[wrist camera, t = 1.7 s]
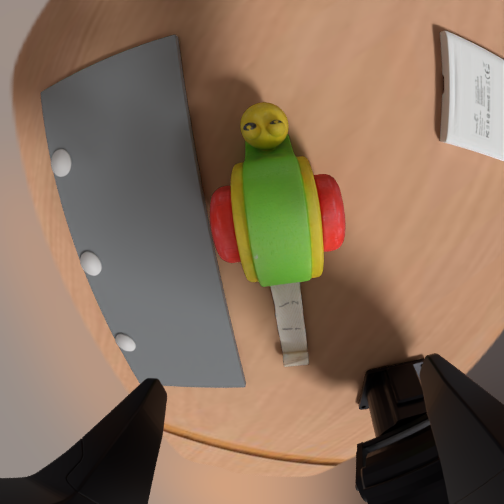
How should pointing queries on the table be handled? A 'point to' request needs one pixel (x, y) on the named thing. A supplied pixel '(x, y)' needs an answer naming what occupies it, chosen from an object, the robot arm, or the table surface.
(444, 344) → the table surface
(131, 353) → the marked mat
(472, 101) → the external hard drive
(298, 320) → the toy measuring tape
